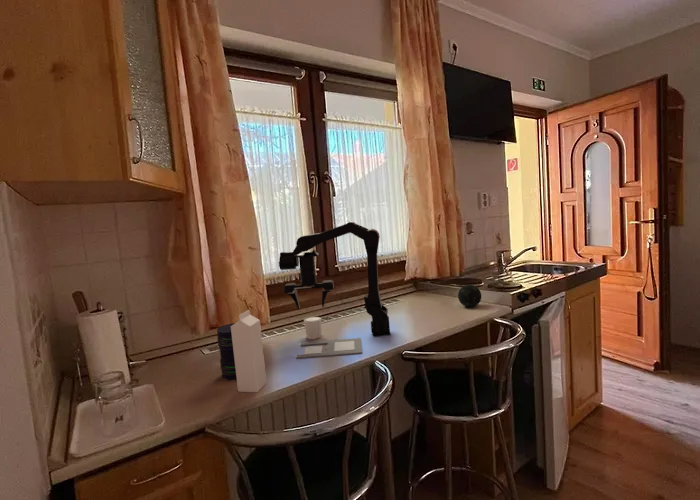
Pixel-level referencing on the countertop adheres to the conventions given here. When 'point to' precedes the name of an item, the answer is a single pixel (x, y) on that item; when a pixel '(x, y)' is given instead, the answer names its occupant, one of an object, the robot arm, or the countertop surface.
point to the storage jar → (226, 352)
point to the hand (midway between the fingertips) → (311, 308)
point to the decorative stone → (469, 295)
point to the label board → (332, 348)
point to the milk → (248, 353)
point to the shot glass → (313, 327)
